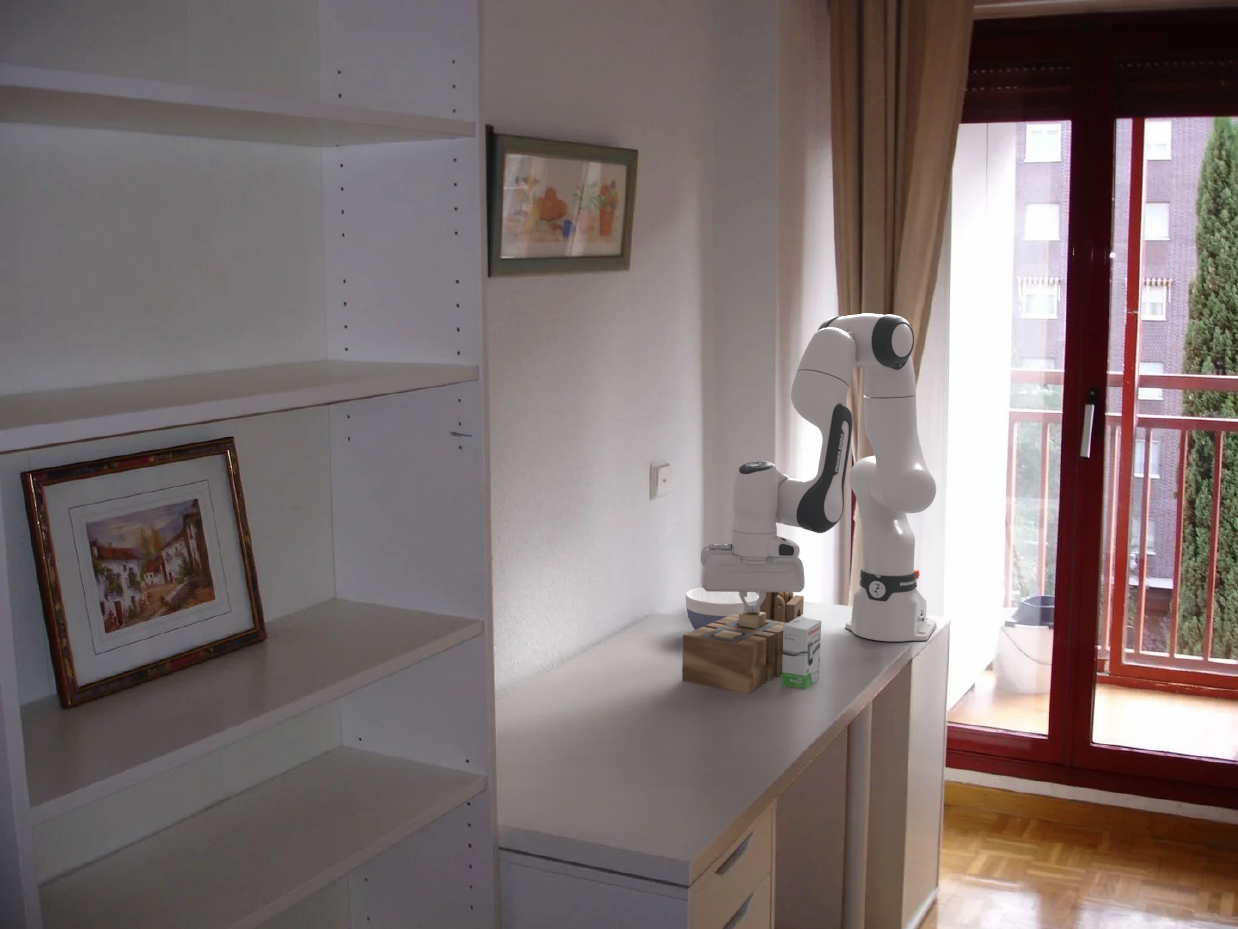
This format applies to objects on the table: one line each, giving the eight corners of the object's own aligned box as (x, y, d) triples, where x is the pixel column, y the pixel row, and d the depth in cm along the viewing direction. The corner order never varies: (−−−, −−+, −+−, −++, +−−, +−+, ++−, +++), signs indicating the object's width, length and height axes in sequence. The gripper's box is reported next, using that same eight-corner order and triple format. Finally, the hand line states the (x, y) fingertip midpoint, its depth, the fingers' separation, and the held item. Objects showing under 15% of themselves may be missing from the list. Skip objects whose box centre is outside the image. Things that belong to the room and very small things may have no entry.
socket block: (732, 656, 252) (733, 613, 251) (794, 668, 244) (795, 624, 243) (682, 680, 235) (682, 634, 234) (746, 694, 228) (747, 646, 226)
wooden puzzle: (805, 611, 290) (807, 534, 288) (791, 626, 277) (793, 545, 274) (716, 603, 298) (717, 527, 296) (698, 617, 284) (699, 538, 282)
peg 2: (747, 652, 246) (748, 609, 245) (765, 655, 244) (766, 612, 243) (737, 656, 243) (738, 614, 242) (755, 660, 241) (756, 617, 240)
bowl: (700, 625, 277) (701, 583, 275) (767, 633, 270) (769, 591, 269) (673, 642, 262) (674, 598, 261) (744, 651, 256) (745, 606, 255)
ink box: (804, 690, 230) (806, 629, 229) (780, 686, 233) (781, 625, 231) (820, 678, 238) (822, 619, 236) (796, 674, 240) (798, 615, 239)
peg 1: (722, 673, 238) (723, 630, 237) (740, 677, 236) (741, 633, 235) (712, 678, 235) (713, 634, 234) (730, 682, 233) (731, 637, 232)
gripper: (702, 547, 237) (701, 616, 239) (807, 548, 238) (805, 617, 240) (699, 541, 243) (697, 609, 245) (801, 542, 244) (799, 609, 246)
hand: (751, 613), depth 242 cm, fingers closed
